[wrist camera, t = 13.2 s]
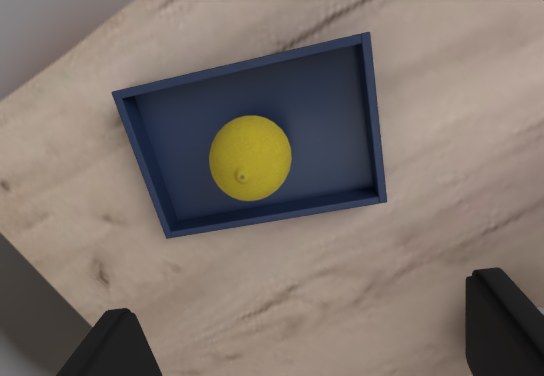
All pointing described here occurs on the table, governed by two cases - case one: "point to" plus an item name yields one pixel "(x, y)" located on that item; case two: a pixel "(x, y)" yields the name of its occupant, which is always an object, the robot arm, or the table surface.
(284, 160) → the lemon
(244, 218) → the tray
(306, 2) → the table surface
